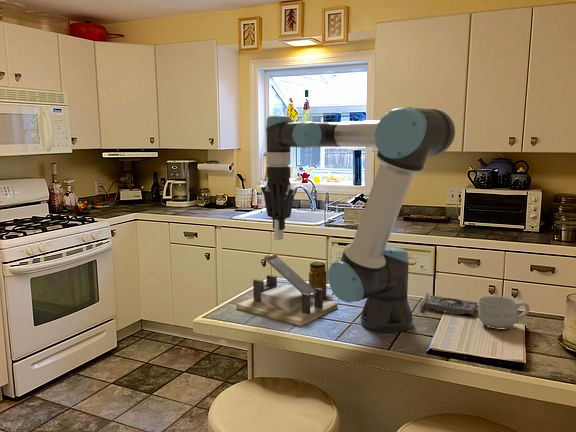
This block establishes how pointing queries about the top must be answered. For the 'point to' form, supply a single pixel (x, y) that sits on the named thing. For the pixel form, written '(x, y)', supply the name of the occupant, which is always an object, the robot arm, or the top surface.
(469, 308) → the graphics card
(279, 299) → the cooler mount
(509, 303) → the teacup
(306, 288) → the retention strap
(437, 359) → the top surface
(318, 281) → the condiment
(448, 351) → the top surface
